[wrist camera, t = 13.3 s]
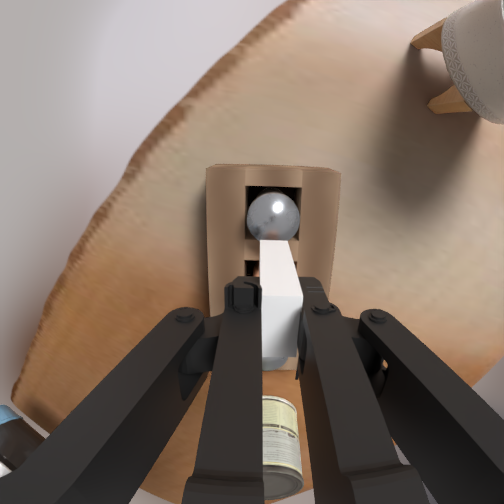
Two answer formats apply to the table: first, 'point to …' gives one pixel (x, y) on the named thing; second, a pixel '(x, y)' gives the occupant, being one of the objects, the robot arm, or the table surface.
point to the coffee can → (280, 449)
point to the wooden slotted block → (248, 247)
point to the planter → (470, 59)
